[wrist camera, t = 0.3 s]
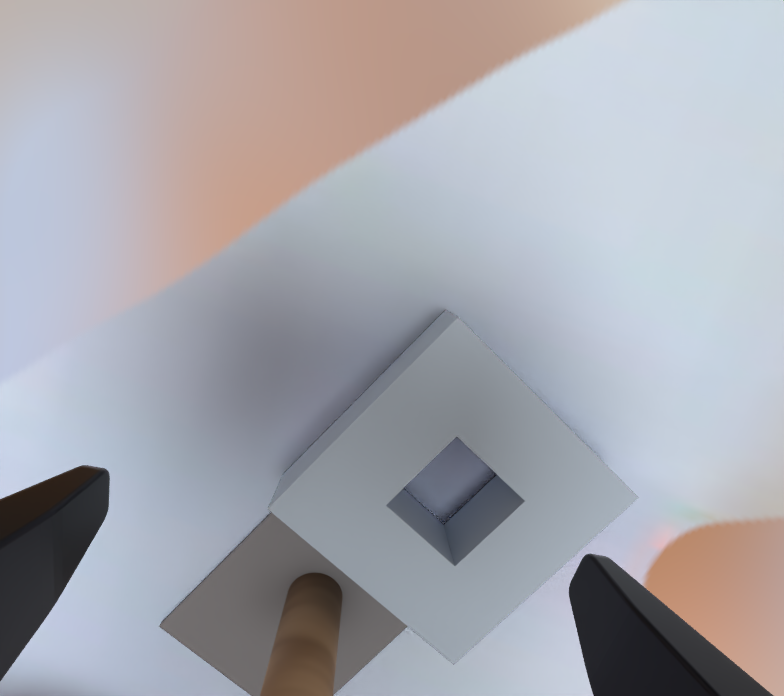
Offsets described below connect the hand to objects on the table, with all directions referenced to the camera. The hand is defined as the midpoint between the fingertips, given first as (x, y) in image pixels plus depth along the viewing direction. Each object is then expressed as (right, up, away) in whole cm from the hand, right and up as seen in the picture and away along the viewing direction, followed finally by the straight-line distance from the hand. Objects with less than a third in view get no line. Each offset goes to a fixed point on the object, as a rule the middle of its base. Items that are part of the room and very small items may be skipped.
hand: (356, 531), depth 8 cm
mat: (-4, -10, +17) cm, 20 cm away
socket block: (+3, -3, +16) cm, 16 cm away
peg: (-4, -10, +16) cm, 20 cm away
